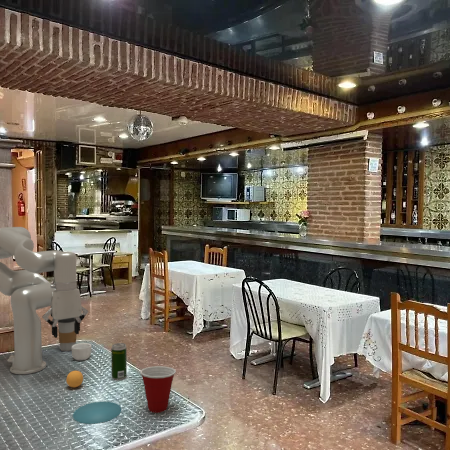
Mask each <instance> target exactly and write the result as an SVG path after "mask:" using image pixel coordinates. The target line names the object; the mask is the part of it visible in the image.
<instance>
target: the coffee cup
mask: <svg viewBox="0 0 450 450" xmlns="http://www.w3.org/2000/svg"><path fill="white" fill-rule="evenodd" d="M75 321H76V320H75V318H68V319H61V320H58V322H57V328H58V342H59V349H60V350H61V351H62V352H72V346H73V345H75V344H77V335H78V334H76V333H75V332H74V322H75Z"/></svg>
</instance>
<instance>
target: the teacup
mask: <svg viewBox="0 0 450 450" xmlns="http://www.w3.org/2000/svg"><path fill="white" fill-rule="evenodd" d="M91 354H92V344H91V343H89V342H79V343H76V344H75V345H73V346H72V351H71V355H72V357H73V359H74V360H76V361H79V362H80V361H86V360H87V359H89V358H90V357H91Z"/></svg>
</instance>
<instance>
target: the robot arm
mask: <svg viewBox="0 0 450 450" xmlns="http://www.w3.org/2000/svg"><path fill="white" fill-rule="evenodd" d="M34 245H35V244H34V241H33V239H32V235H31V232H30V231H29V230H28V229H27V228H25V227H23V226H10V227H9V226H5V227H0V259H1V260H2V259H3V260H4V259H8V258H11V257H14V260H15V263H16V264H17V266H18V267H19V268H21V269H19V270H13V269H11V268H10V267H9V266H7V265H6V264H5V263H3V262H2V261H0V293H2V294H3V295H4V296H7V297H10V299H9V300H10V301H9V302H10V306H11V311H12V315H13V316H12V318H13V341H14V342H13V343H14V345H13V346H14V347H13V348H14V353H13V355H12V354H11V355H9V358H7V362H8V363H12V365H11V366H10V368H9V369H10V370H9V371H10V373H12V374H15V375H29V374H35V373H38V372H41V371H43V370H44V369H46V367H47V362H46V361H44V360H43V357H42V356H43V353H42V351H43V349H42V348H43V347H42V320H41V318H42V319H43V320H44V321H45V322H46V323H48V324H49V325H50V326H51V335H52V336H53V338H55V339H57V338H59V332H58V320H61V319H68V318H75V320H76V321H75V322H74V332H75V333H76V334H77V335H79V334H80V332H81V323H82V321H83V320H84V319H85V318H86V316H87V315H88V313H89V310H88V309H87V308H85V307H84V306H82V300H81V299H82V298H81V293H80V292H81V291H80V289H79V288H77V285H78V284H77V254H76V253H75V252H72V251H62V250H57V249H56V250H55V249H54V250H45V251H33V250H34V248H35V246H34ZM53 271H54V272H53ZM46 272H53V274H54V277H53V280H54V282H53V283H51V282H50V281H48V280H47V279H46V278H45V277H44V276H43V275H41V273H46ZM47 307H50V308H49V309H48V310H47V311H46V312H45V313H44V314H43V315H42V317H41V318H40V316H39V315H38V312H37V310H40V309H45V308H47ZM49 317H51V318H52V319H50V318H49Z"/></svg>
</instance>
